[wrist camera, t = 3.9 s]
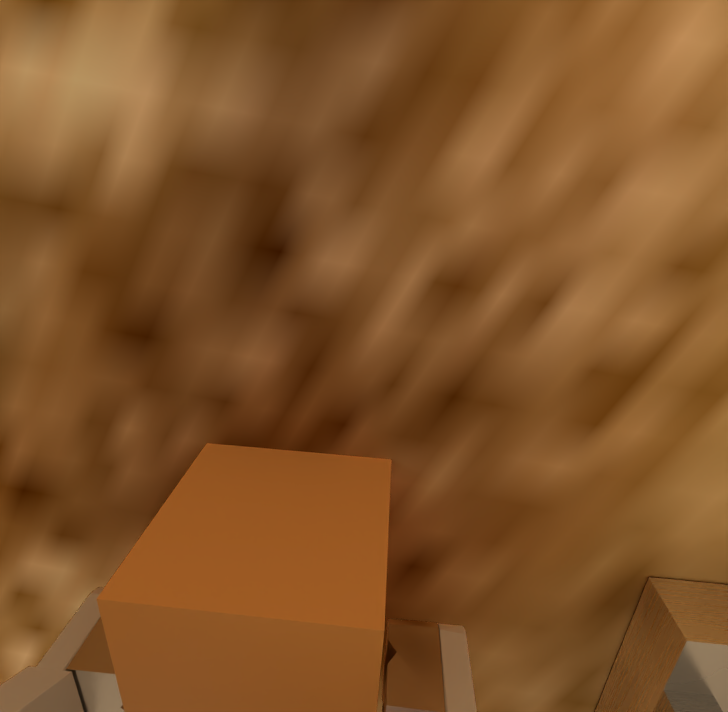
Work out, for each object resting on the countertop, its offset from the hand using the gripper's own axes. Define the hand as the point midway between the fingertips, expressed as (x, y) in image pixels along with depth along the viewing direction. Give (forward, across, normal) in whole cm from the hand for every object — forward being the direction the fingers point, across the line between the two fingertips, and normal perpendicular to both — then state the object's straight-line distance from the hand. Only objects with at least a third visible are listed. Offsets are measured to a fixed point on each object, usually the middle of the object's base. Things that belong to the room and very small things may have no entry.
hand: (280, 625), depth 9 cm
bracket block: (+2, 0, 0) cm, 2 cm away
